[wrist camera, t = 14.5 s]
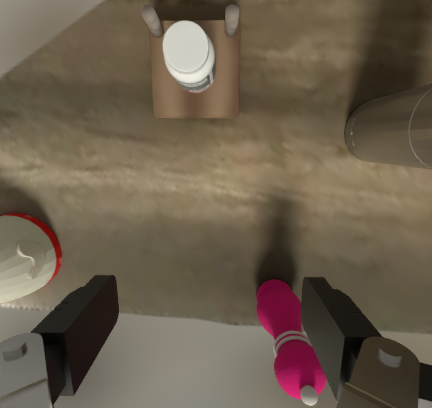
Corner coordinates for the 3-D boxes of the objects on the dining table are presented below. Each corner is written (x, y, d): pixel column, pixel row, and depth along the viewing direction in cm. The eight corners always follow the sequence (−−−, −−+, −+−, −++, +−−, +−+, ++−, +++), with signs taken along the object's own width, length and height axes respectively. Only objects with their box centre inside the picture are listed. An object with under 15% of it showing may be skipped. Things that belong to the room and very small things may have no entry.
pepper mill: (248, 283, 46) (267, 385, 27) (287, 271, 46) (337, 366, 26) (260, 317, 48) (287, 437, 28) (299, 305, 47) (354, 420, 28)
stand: (238, 29, 37) (243, -1, 30) (237, 117, 40) (241, 111, 32) (154, 30, 38) (137, 0, 30) (158, 118, 40) (143, 112, 33)
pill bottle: (187, 39, 35) (174, 0, 25) (223, 63, 36) (225, 33, 26) (167, 80, 36) (147, 57, 27) (203, 102, 37) (196, 87, 27)
